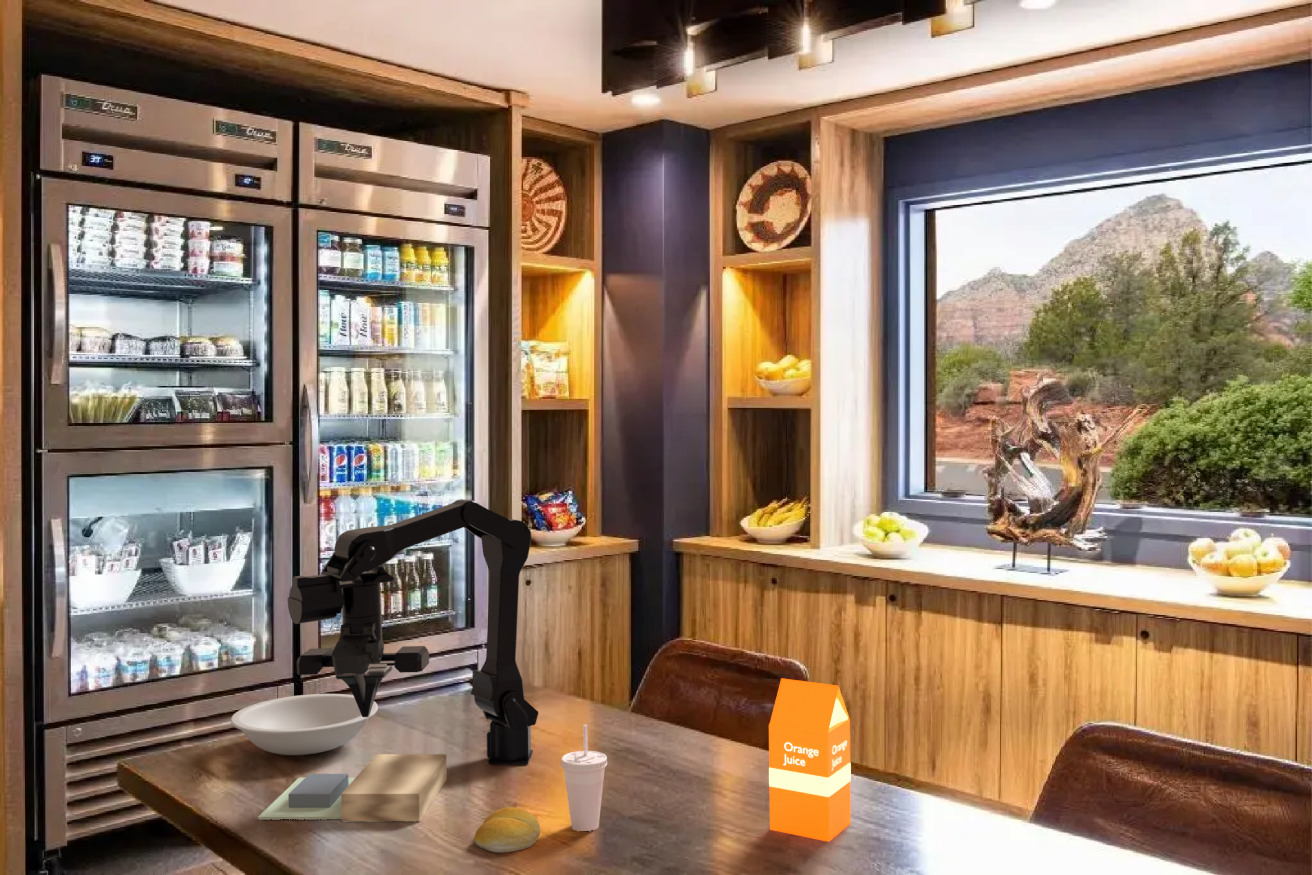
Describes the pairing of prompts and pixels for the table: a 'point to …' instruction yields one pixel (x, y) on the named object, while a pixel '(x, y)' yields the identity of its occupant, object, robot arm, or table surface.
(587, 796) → the smoothie
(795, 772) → the orange juice
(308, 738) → the soup bowl
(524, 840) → the bread roll
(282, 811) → the mat
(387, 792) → the wooden block
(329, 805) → the grey bevelled block
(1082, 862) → the table surface
